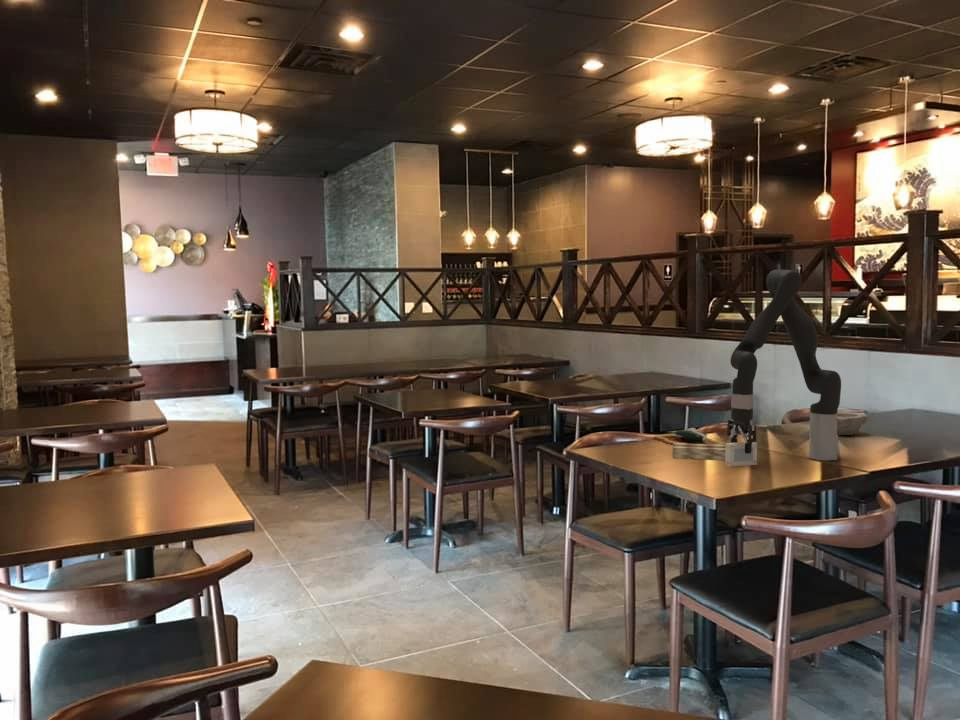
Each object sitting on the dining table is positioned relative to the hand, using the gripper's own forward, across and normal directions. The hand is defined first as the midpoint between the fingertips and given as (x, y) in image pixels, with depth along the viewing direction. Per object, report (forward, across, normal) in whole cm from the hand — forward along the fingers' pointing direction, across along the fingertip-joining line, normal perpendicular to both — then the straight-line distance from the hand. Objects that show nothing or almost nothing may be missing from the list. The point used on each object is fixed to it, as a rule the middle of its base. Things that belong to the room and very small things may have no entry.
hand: (740, 451), depth 270 cm
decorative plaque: (+6, -42, +4) cm, 43 cm away
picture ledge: (+5, -15, -3) cm, 16 cm away
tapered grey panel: (+5, 0, 0) cm, 5 cm away
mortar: (+4, -40, +78) cm, 88 cm away
